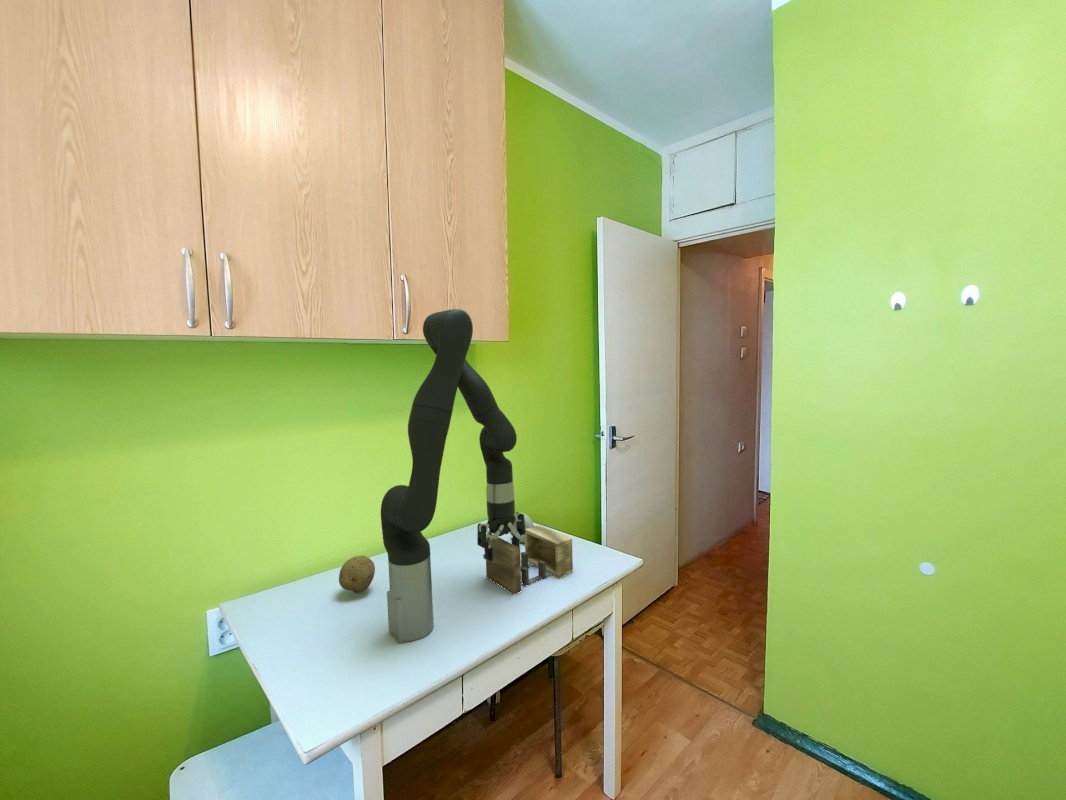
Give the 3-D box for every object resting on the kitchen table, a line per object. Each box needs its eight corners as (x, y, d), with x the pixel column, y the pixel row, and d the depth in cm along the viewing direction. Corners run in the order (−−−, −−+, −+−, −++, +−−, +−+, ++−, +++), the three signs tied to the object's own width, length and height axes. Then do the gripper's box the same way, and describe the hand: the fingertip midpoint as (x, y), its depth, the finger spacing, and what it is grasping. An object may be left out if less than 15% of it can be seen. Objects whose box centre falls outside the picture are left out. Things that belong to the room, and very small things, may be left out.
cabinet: (531, 589, 123) (530, 553, 122) (499, 570, 135) (498, 537, 134) (572, 572, 132) (572, 538, 132) (539, 556, 144) (538, 524, 143)
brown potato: (354, 605, 117) (351, 567, 117) (332, 596, 122) (330, 559, 121) (382, 589, 125) (380, 554, 124) (361, 582, 130) (359, 547, 129)
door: (509, 596, 120) (508, 552, 119) (482, 579, 130) (480, 537, 129) (521, 592, 122) (520, 547, 121) (493, 575, 132) (492, 534, 131)
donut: (536, 544, 153) (536, 515, 153) (529, 547, 151) (528, 517, 150) (516, 536, 160) (515, 508, 160) (509, 539, 158) (508, 511, 157)
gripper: (485, 507, 117) (488, 568, 119) (529, 495, 126) (531, 552, 128) (470, 500, 123) (473, 559, 124) (513, 489, 132) (515, 544, 133)
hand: (502, 555), depth 126 cm, fingers open, 8 cm apart
